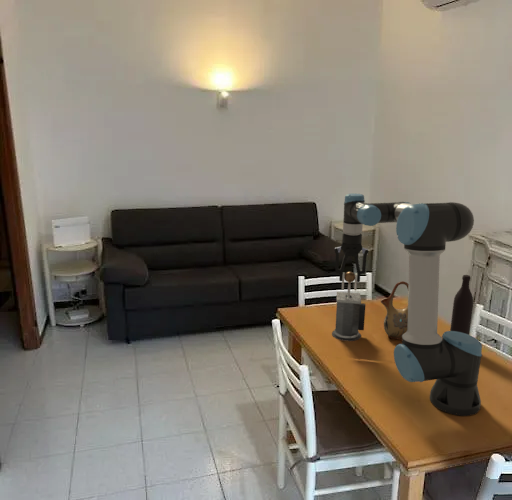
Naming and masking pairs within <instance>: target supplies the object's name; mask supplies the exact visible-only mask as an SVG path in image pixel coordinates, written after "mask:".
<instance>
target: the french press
mask: <svg viewBox="0 0 512 500" xmlns="http://www.w3.org/2000/svg"><path fill="white" fill-rule="evenodd" d="M347 294H348V291H336V314H335V327H334V330H333V331H334V335H335V336H336V337H337V338H340V339H344V340H353V339H356V338H358V336H359V333H360V332H359V331H364V330H365V319H366V318H365V317H366V303H365V302H364V303H362V298H361V292H360V293H359V292H350V298H348V297H347Z"/></svg>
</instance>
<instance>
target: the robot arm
mask: <svg viewBox="0 0 512 500" xmlns="http://www.w3.org/2000/svg"><path fill="white" fill-rule="evenodd" d="M365 201H366V200H365V196H364V194H361V193H347V194H346V195H345V196H344V203H343V222H342V232H343V233H342V241H341V245H340V246H335V247H334V253H335V269H334V270H335V271H334V272H335V273H338V274H339V276H338V277H339V282H341V290H344V289H345V279H344V275H345V274H346V272H344V270H345V267H346V264H347V260H348V257H354V262H355V269H356V272H355V273H354V274H355V280H354V291H357V287H358V284H357V283H360V281H361V275H365V274H366V266H367V256H368V254H369V249H368V248H365V247H363V245H362V240H363V235H362V233H363V226H368V227H374V226H375V225H377V224H388V223H389V224H390V223H391V224H392V223H396V228H395V232H396V236H397V239H398V241H399V243H401V244H402V245H403V246H404V247H403V250H405V251H406V252H407V253H408V256H409V257H408V259H409V260H408V284H409V286H408V289H407V292H408V294H407V295H408V297H407V299H408V300H407V306H408V328H407V332H405V333H404V334H403V335H402V340H401V343H398V344H396V346H395V347H394V350H393V358H394V359H393V360H394V363H395V366H396V369H397V370H398V372H399V374H400V376H401V377H402V378H403V380H405V381H407V382H409V383H417V382H420V383H423V382H427V381H434V380H435V382H434V383H433V384H432V385H433V386H432V388H431V389H430V391H429V392H430V393H429V401H430V403H431V404H432V405H433V406H434V407H435V408H437V409H439V410H440V411H442V412H445V413H446V414H451V415H454V416H461V417H465V416H466V417H468V416H473V415H476V414H478V412H480V410H481V403H482V400H481V396H480V392H479V391H480V390H479V388H478V381H479V373H480V368H481V367H480V366H481V360H482V356H483V354H482V350H483V346H482V343H481V341H480V340H479V339H477V338H476V337H474V336H473V335H471V334H469V335H468V334H465V333H462V332H457V331H450V330H447V331H444V332H443V333H442V335H441V336H440V334H439V333H438V317H439V287H440V286H439V285H440V284H439V283H440V260H441V259H440V257H441V255H442V254H443V253H444V252H445V251H446V246H447V245H446V243H447V242H449V243H451V242H456V241H459V240H461V239H464V238H465V237H467V236H468V235H469V234H470V233H471V231H472V229H473V228H474V223H475V219H474V214H473V212H472V210H471V209H470V208H469V207H467V205H465V204H462V203H459V202H454V201H453V202H451V201H450V202H435V203H434V202H429V203H426V202H425V203H423V202H421V203H419V202H418V203H411V202H409V201H398V202H397V201H395V202H375V203H372V202H371V203H369V202H368V203H367V202H365ZM341 251H342V252H343V254H344V255H343V258H342V262H341V266H340V265H339V263H340V253H341ZM361 251H362V252H361ZM360 252H361V253H362V263H361V264H362V265H361V268H360V262H359V257H358V255H359V254H360ZM339 266H340V267H339Z"/></svg>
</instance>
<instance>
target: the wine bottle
mask: <svg viewBox="0 0 512 500" xmlns="http://www.w3.org/2000/svg"><path fill="white" fill-rule="evenodd" d="M461 280H462V283H461V287H460V288H459V290H458V291H457V292H456V293H455V296H454V299H453V303H452V304H453V305H452V313H451V321H450V327H449V328H450V330H449V331H457V332H462V333H465V334H468V335H470V333H471V332H470V330H471V323H472V315H473V310H474V309H473V307H474V297H473V294H472V292H471V289H470V281H471V276H470V275H469V274H463V275H462V278H461Z"/></svg>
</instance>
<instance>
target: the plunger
mask: <svg viewBox="0 0 512 500" xmlns="http://www.w3.org/2000/svg"><path fill="white" fill-rule="evenodd" d="M344 281H345V282H347V283H348V284H347V292H348V294H347V297H348V298H350V293H351V286H352V285H351V283H353V282H355V273H354V272H352V271H346V272H345V275H344Z"/></svg>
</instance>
